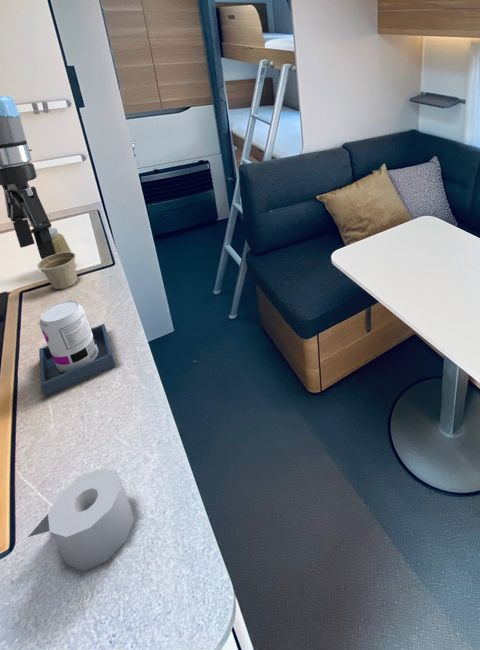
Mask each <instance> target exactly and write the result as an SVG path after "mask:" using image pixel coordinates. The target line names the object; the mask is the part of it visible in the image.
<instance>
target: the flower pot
mask: <svg viewBox="0 0 480 650" xmlns="http://www.w3.org/2000/svg"><path fill="white" fill-rule="evenodd" d="M75 262H76V253H75V252H73V251H71V252H61V253H56V254H54V255H51V256H48V257H46V258H44V259H43V260H42V259H41V260H40V261H39V262H38V263H37V265H36V266H37V269H38V270H40V271H41V272H42V273H43V274H44V275H45V277H46V278H47V280H48V282H49V283H50V285H51V286H52V288H53V289H55V290H61V289H63V290H64V289H68V288H70V287H71V286H73V285H75V284H76V282H77V281H78V275H77V269H76V264H75Z"/></svg>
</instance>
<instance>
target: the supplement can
mask: <svg viewBox="0 0 480 650" xmlns="http://www.w3.org/2000/svg"><path fill="white" fill-rule="evenodd" d="M38 325H39V328H40V330H41V333H42V335H43V338H44V341H45V342H46V346H48V347H49V349H50V352H51V354H52V357H53V359H54V361H55V364H56V366H57V369H58V370H59V371H60V372H63V373H66V372H69V371H71V370H73V369H76V368H78V367H80V366H83V365H85V364H87V363H90V362H92V361H94V360H95V358H96V357H97V355H98V352H99V351H98V348H97V345H96V342H95V339H94V337H93V334H92V331H91V329H92V328H91V326H90V323H89V320H88V317H87V314H86V312H85V309H84V306H82V305H81V304H80V303H78V302H77V301H75V300H65V301H61V302H58V303H55V304H53V305H50V306H49V307H48V308H46V309H45V310H44V311H43V312H42V313H41V315H40V319H39V322H38Z"/></svg>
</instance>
